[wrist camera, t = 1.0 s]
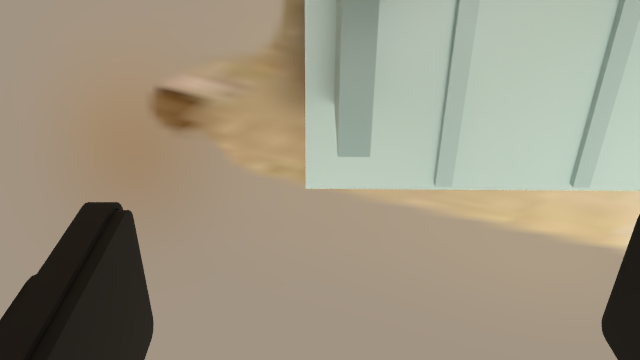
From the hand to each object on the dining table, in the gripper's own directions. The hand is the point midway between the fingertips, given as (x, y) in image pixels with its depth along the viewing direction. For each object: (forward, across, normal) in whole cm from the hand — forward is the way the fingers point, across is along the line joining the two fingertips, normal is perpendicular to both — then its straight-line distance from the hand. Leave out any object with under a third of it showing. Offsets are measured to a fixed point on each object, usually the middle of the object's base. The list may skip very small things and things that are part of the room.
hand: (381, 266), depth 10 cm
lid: (+17, -8, 0) cm, 19 cm away
